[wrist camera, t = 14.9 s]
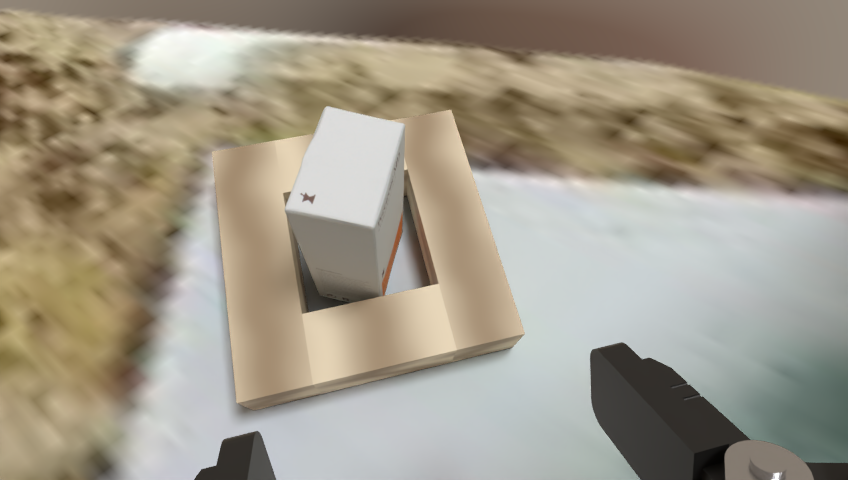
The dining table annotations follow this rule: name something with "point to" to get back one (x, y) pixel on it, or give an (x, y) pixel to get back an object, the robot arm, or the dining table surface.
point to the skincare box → (350, 204)
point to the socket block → (369, 319)
